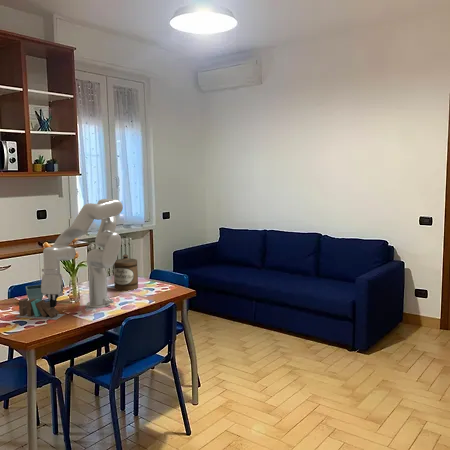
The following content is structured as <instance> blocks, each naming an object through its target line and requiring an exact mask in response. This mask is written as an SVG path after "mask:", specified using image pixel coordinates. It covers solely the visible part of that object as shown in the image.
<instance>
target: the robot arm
mask: <svg viewBox="0 0 450 450" xmlns="http://www.w3.org/2000/svg"><path fill="white" fill-rule="evenodd" d="M123 207H124V206H123V203H122V202H121V201H120V200H119V199H111V198H102V199H99V200H98V201H97V203H85V204H83V206H82V208H80V211H79V212H78V214H77V215H76V217H75V219H74V220H73V223H72V224H71V225H70V226H69V227H68V228H66V229H65V230H64V231H63V232H62V233H60V235H58V237H57V238H56V239H55V242H54V243H53V245H52V246H48V247H45V248H44V249H43V252H42V253H43V268H42V269H41V272H43V273H42V276H41V282H40V285H41V292H42V293H43V296H46V297H47V298H48V301H49V302H50V307H52V308H56V307H57V304H58V303H57V302H58V301H57V299H58V298H59V297H62V296H64V293H63V292H64V282H63V277H62V274H61V267H60V264H61V263H60V262H61V261H71V260H73V259H74V258H75V257H76V254H77V251H76V249H75V248H74V247H73V246H70V243H72V242H73V241H74V240H75V239H77V238H80V237H82V236H84V235H86V234H87V232H88V231H89V229H90V227H91V225H92V224H93V222H94V220H95V221H96V220H97V221H100V225H99V228H98V231H97V232H96V233H97V234H96V236H95V241H94V242H95V245H96V246H97V247H98V248H103V249H98V248H95V249H91V250H89V251H88V253H87V254H86V265H87V268H88V269H87V270H88V293H89V301H88V302H87V303H86V306H87V308H90V309H101V308H107V307H109V306H110V305H111V304H114V302H115V301H114V298H110V296H108V288H107V287H108V284H107V283H108V279H107V277H108V276H107V275H108V274H107V269H111V268H112V267H114V263H115V261H116V260H117V259H118V257H119V256H118V255H119V252H120V250H121V245H122V236H121V235H120V234H119V233H118V232H115V231H116V228H117V218H116V216H118V215H120V214H121V213H122V212H123Z"/></svg>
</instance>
